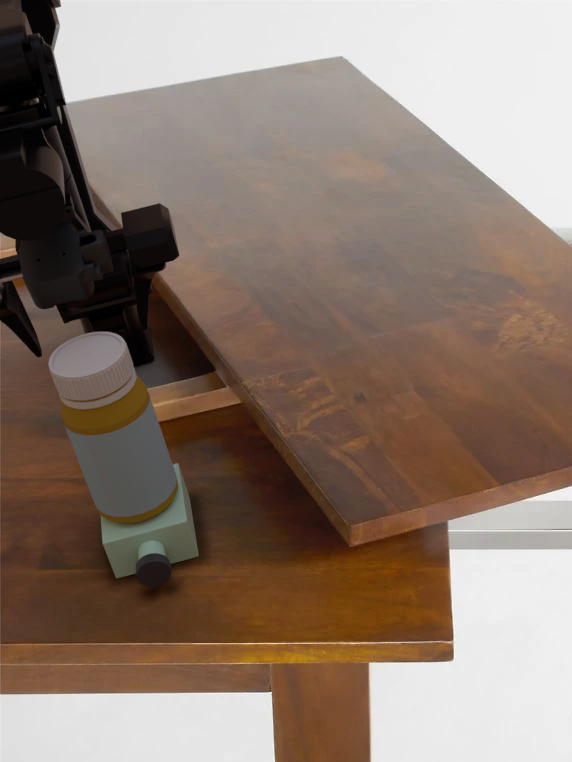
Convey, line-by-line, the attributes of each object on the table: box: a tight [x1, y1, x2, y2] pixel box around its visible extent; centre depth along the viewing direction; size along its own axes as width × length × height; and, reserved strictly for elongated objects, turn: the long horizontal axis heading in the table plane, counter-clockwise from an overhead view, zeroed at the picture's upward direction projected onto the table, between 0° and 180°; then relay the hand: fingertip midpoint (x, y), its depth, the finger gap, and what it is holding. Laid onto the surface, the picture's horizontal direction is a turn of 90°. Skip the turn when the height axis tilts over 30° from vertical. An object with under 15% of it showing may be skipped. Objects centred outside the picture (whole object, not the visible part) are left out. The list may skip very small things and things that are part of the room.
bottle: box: [48, 332, 178, 524], centre depth 111 cm, size 7×7×15 cm
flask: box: [100, 462, 200, 588], centre depth 115 cm, size 11×7×4 cm, turn 12°
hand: (92, 341), depth 119 cm, fingers open, 9 cm apart
